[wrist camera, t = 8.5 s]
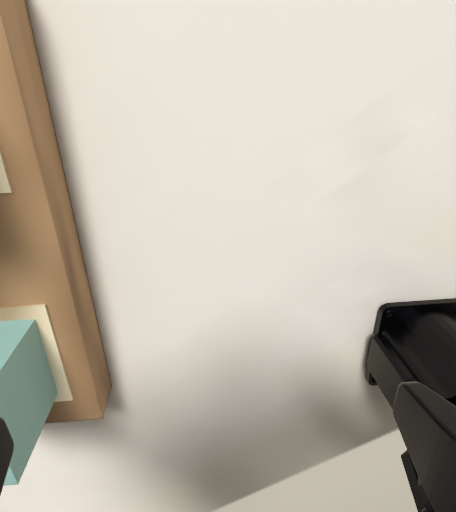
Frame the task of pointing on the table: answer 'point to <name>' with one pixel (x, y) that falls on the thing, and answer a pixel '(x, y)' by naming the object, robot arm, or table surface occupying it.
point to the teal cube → (23, 389)
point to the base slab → (43, 231)
